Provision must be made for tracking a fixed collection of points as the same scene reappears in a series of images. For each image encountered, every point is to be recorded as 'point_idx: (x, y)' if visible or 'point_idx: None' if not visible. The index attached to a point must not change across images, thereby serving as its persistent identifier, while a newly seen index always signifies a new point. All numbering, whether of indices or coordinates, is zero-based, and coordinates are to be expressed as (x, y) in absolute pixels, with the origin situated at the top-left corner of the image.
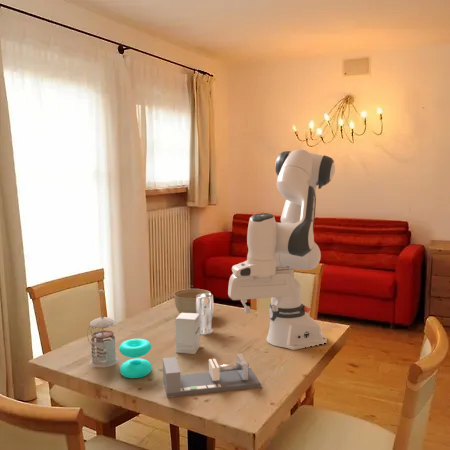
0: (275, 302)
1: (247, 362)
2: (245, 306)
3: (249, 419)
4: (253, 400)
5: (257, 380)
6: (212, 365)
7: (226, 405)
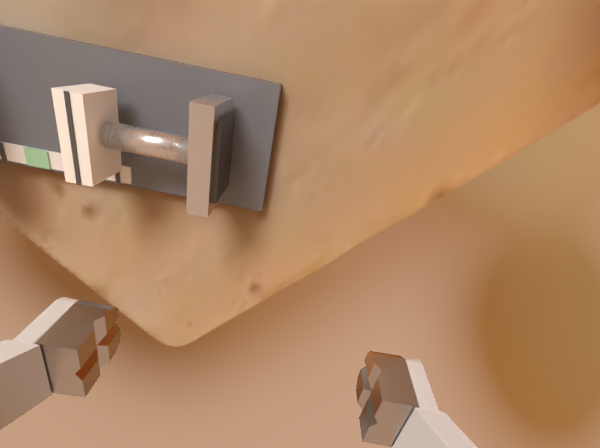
0: (432, 440)
1: (215, 191)
2: (5, 409)
3: (178, 318)
4: (215, 259)
5: (260, 191)
6: (65, 158)
7: (139, 253)
